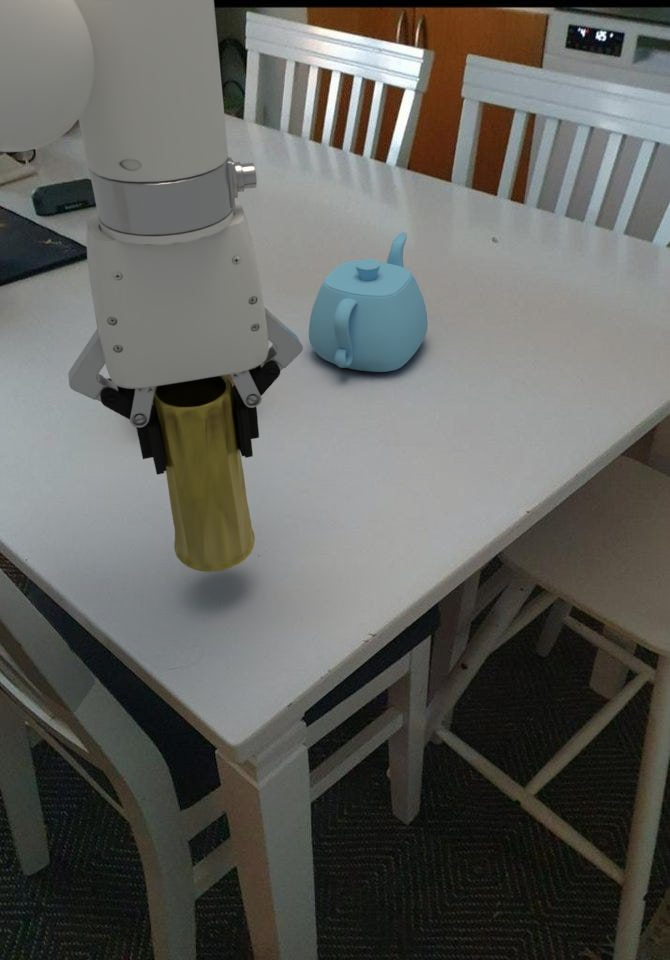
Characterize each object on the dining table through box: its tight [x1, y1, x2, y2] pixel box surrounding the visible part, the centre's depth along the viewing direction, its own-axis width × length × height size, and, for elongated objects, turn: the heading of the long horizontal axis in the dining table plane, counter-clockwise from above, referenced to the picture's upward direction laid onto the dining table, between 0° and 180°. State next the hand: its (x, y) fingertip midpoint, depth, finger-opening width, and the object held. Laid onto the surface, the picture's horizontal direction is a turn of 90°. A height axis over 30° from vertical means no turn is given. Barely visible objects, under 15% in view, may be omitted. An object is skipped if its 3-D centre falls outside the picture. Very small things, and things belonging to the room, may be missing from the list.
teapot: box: [308, 232, 429, 373], centre depth 90 cm, size 13×11×18 cm
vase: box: [153, 375, 256, 573], centre depth 57 cm, size 6×6×14 cm
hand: (201, 452), depth 56 cm, fingers closed on vase, 5 cm apart
